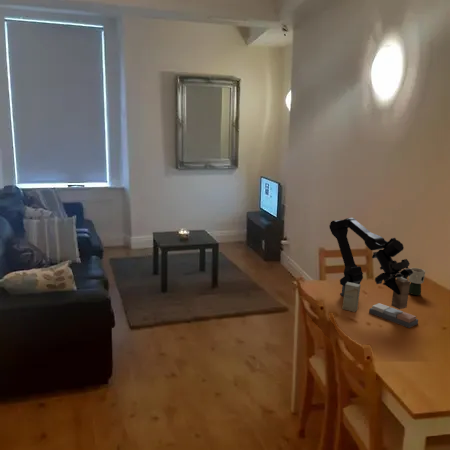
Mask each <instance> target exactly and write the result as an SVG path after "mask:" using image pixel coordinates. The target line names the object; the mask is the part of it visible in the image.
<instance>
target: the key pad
mask: <svg viewBox="0 0 450 450" xmlns="http://www.w3.org/2000/svg"><path fill="white" fill-rule="evenodd" d="M368 310H369V311H368V313H369V314H372V315H374V316H376V317H379V318H381V317H382V319H384V320H387V321H390V322H392V323H395V324H398V325H400V326H403V327H405V328H409V329H410V328H413V327H414V326H417V325H418V324H419V319H417V318H416V320H415V321H413V322H410V323H408V322H405V321H403V320H400V319H397V315H398V314H401V313H403V312H404V311H403V310H401V309H398V308H395V307H393V306H388V305H386V304H382V303H380V302H378V303H376V304H373V305H372V306H371V308H369V309H368Z"/></svg>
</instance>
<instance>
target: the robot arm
mask: <svg viewBox="0 0 450 450" xmlns="http://www.w3.org/2000/svg"><path fill="white" fill-rule="evenodd" d="M349 229H350V230H351V231H352V232H353V233H355V234H356V235H357V236H358V237H360V238H361V239H362V240H363V242H364V245H365V246H366V247H367V248H368V249H369V251H374V252H372V255H371V259H377V262H378V264H379V265H380V267H379V269H380V270H382V271H383V272H382V273H380V274H378V275H377V276H376V277H375V279H374V283H376V285H381V284H382V285H384V286H386V287H387V288H389V289H390V290H391V291H392V292H393V291H394V292H395V293H397V294H398V295H400V294H401V293H400V291H399V288H398V286H397V284H396V282H395V280H396V279H397V278H401V277H403V278H405V279H408V278H409V276H410V275H411V274H413V271H412V270H411V268H409V266H410V261H409V260H408V259H407V258H405V259H401V261H400V262H397V260H393V258H394V257H396V256H397V255H399V254H400V253H401V252H403V250H404V249H405V248H404V245H403V243H402V242H401V241H400V240H397V238H396V237H392V238H390V239H389V240H388V241H387V240H385V238H384V237H382V235H381V236H380V235H379V234H376V233H373V232H371V231H370V230H369V229H368V228H366V226H364V225H363V224H362V223H360V222H359V221H357V219H356V218H354V217H348V218H345V219H337V220H331V221H330V223H329V230H330V232H331V235H333V237H334V238H335V239H336V240H337V244H338V247H339V251H340V253H341V257H342V262H343V264H344V270H343V277H342V278H340V279H339V285H341V286H342V287H341V292H340V295H341V297H343V298H344V291H345V284H346V283H347V282H351V283H356V284H360V285H361V282H362V281H363V280H364V276H363V275H364V273H363V270H362V267H361V265H360V266H358V265H357V264H356V262H355V259H354V256H353V253H352V249H351V246H350V243H349V239H348V232H349Z"/></svg>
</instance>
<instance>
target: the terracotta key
mask: <svg viewBox="0 0 450 450" xmlns="http://www.w3.org/2000/svg"><path fill="white" fill-rule="evenodd" d="M397 319H400V320H403V321H405V322H408V323H410V322H413V321H415V320H416V319H417V316H416V315H413V314H411V313H408V312H406V311H403V313H401V314H398V315H397Z"/></svg>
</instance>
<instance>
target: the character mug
mask: <svg viewBox="0 0 450 450" xmlns="http://www.w3.org/2000/svg"><path fill="white" fill-rule="evenodd" d="M410 269H411V270H412V271H413V274H411V275H410V276H408V281H410V287H409V294H410V295H413V296H421V295H422V284H423V283H424V281H425V276H426V275H425V274H426V270H425V269H422V268H419V267H411V268H410Z"/></svg>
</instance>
